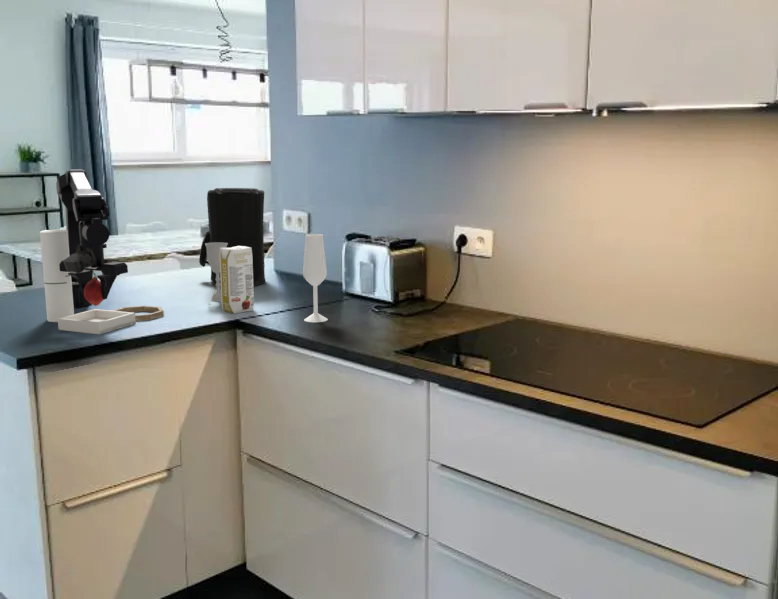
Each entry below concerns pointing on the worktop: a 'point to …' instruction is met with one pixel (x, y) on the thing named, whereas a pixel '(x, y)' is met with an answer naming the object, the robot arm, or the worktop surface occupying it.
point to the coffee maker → (236, 225)
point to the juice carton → (236, 279)
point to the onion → (93, 292)
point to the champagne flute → (314, 269)
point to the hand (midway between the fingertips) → (95, 298)
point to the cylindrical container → (56, 274)
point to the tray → (96, 321)
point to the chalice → (215, 264)
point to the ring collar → (157, 310)
